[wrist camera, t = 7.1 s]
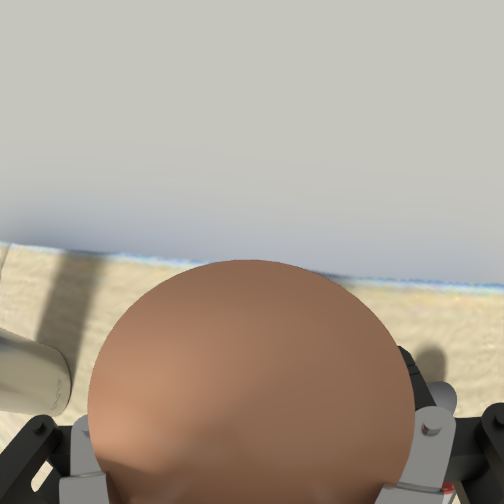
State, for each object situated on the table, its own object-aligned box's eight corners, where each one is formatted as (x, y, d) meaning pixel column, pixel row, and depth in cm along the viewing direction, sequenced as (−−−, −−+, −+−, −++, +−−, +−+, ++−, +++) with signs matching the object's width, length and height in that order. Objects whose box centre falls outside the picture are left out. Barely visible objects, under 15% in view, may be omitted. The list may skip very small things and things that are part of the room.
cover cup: (201, 441, 13) (68, 482, 4) (234, 329, 15) (142, 237, 7) (324, 473, 11) (349, 583, 2) (356, 354, 14) (436, 289, 5)
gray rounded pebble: (399, 423, 20) (412, 426, 17) (408, 382, 21) (421, 380, 18) (435, 424, 19) (451, 426, 16) (443, 384, 20) (460, 382, 17)
